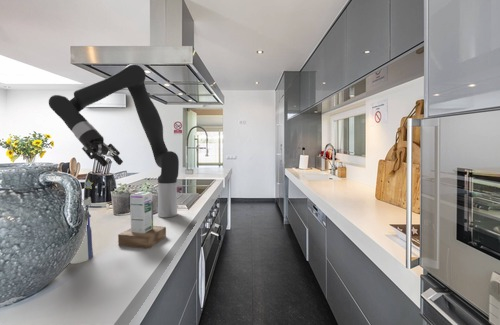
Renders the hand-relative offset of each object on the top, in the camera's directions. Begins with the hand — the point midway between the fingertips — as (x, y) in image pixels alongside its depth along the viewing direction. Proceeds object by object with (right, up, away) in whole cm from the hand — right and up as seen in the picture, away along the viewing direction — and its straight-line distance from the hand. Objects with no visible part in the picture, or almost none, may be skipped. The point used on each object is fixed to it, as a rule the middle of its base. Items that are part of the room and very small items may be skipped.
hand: (113, 164), depth 102 cm
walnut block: (+14, -29, -5) cm, 33 cm away
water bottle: (-1, -30, -20) cm, 36 cm away
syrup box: (+13, -25, -5) cm, 29 cm away
